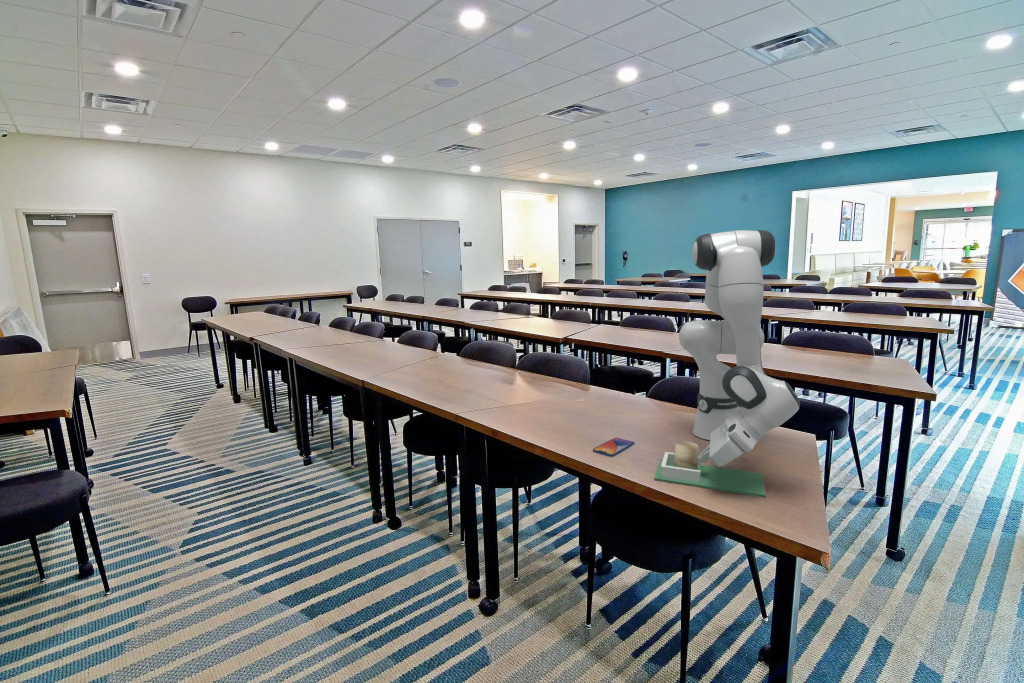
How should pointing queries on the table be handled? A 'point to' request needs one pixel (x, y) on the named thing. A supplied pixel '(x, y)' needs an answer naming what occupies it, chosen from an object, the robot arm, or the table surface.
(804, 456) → the table surface
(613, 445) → the smartphone
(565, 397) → the table surface
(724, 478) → the putting green
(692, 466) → the maple canister
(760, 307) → the robot arm
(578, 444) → the table surface
